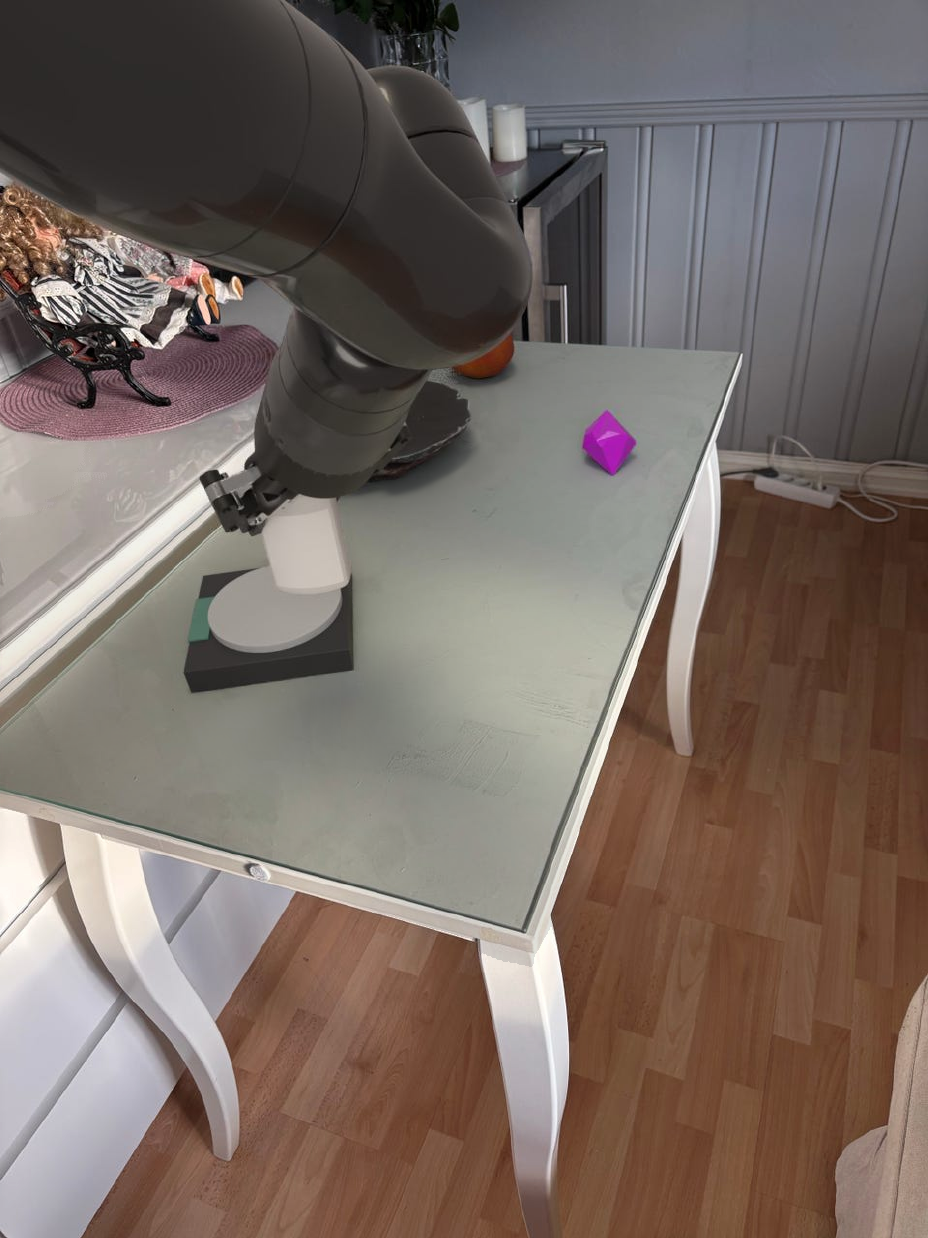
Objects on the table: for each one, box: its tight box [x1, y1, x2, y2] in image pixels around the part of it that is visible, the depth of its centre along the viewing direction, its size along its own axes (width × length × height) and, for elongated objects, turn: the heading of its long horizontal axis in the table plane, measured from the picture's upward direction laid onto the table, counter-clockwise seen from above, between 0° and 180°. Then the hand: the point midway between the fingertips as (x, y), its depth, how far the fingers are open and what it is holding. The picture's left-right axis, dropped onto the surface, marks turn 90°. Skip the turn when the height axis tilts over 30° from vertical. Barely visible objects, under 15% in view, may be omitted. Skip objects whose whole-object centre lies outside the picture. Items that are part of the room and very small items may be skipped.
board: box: [367, 379, 473, 482], centre depth 106 cm, size 22×22×5 cm
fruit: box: [450, 332, 515, 379], centre depth 120 cm, size 9×9×8 cm
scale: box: [182, 565, 354, 694], centre depth 82 cm, size 14×14×3 cm
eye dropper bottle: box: [260, 496, 352, 595], centre depth 64 cm, size 4×6×12 cm
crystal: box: [581, 409, 637, 476], centre depth 100 cm, size 5×5×5 cm
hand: (288, 506), depth 65 cm, fingers closed on eye dropper bottle, 5 cm apart
